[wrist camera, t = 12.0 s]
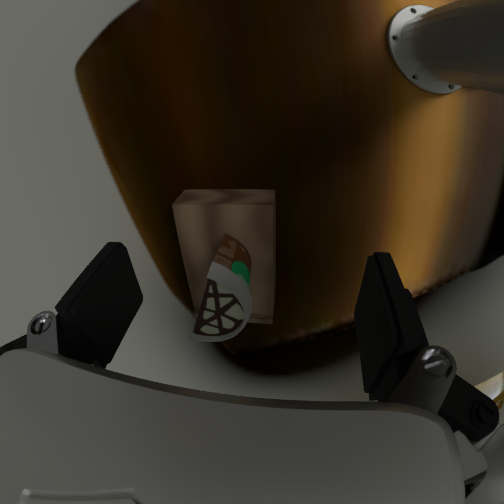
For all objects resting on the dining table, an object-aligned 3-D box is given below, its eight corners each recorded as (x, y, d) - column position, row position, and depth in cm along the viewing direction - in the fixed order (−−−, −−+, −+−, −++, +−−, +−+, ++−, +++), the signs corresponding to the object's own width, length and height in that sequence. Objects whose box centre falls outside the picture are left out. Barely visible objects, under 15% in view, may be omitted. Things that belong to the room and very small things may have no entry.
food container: (245, 302, 44) (234, 354, 36) (207, 289, 44) (189, 340, 35) (273, 239, 37) (265, 292, 29) (227, 224, 36) (207, 273, 28)
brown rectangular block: (275, 189, 38) (272, 208, 33) (274, 298, 49) (272, 323, 45) (184, 189, 40) (169, 208, 35) (203, 293, 51) (194, 317, 46)
